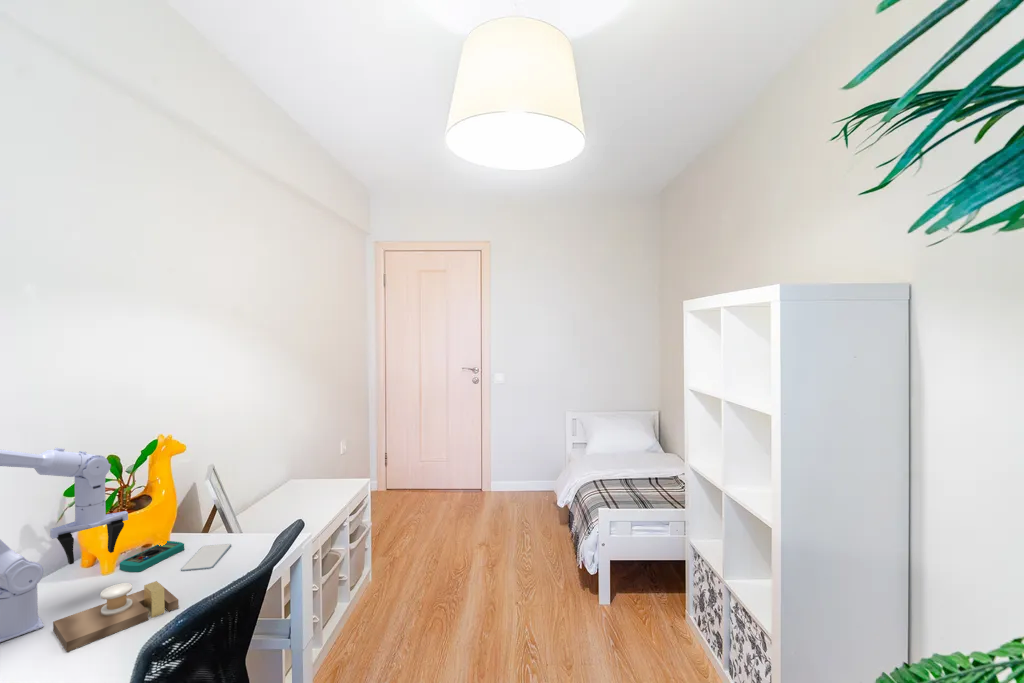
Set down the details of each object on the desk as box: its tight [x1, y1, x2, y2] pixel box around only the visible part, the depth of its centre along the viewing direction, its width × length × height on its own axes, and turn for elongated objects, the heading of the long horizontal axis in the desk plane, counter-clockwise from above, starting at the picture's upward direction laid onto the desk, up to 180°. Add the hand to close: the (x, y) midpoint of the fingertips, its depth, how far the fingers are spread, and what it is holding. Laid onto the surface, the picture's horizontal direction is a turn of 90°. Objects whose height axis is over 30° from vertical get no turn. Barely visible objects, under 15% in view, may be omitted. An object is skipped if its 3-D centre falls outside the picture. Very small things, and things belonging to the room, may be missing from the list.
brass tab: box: [143, 580, 166, 619], centre depth 114 cm, size 2×5×6 cm, turn 53°
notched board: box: [52, 587, 180, 652], centre depth 112 cm, size 20×12×2 cm, turn 143°
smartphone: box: [180, 543, 232, 572], centre depth 142 cm, size 8×1×15 cm
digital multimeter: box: [119, 540, 185, 573], centre depth 141 cm, size 7×15×3 cm, turn 167°
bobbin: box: [100, 582, 133, 616], centre depth 112 cm, size 6×6×4 cm
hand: (91, 557), depth 121 cm, fingers open, 7 cm apart
